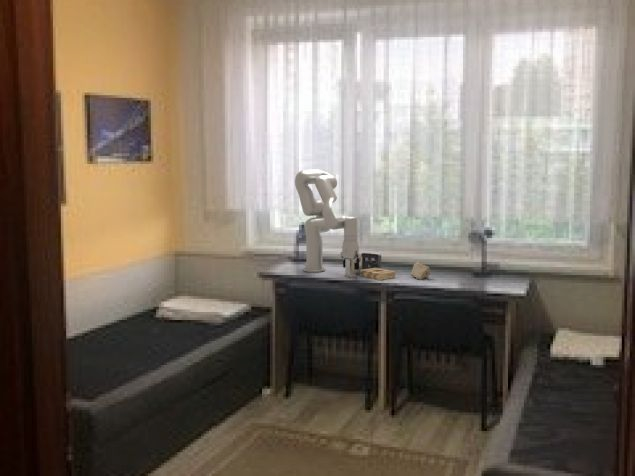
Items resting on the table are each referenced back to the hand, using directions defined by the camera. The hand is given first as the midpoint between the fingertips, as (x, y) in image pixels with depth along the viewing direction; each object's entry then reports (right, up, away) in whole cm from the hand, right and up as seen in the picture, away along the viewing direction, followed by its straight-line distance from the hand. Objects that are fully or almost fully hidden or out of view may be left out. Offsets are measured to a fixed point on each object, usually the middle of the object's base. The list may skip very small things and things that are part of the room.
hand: (351, 268), depth 390 cm
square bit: (0, -5, +1) cm, 5 cm away
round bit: (+5, -4, +7) cm, 10 cm away
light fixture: (+14, -2, +20) cm, 24 cm away
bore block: (+15, -5, -1) cm, 16 cm away
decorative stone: (+38, -5, -4) cm, 38 cm away
